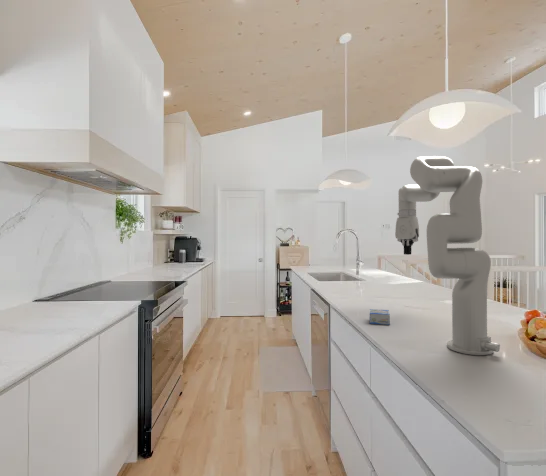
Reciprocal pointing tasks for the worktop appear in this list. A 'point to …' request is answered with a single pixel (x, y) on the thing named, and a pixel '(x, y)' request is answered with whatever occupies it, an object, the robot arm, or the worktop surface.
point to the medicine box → (379, 317)
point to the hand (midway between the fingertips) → (407, 254)
